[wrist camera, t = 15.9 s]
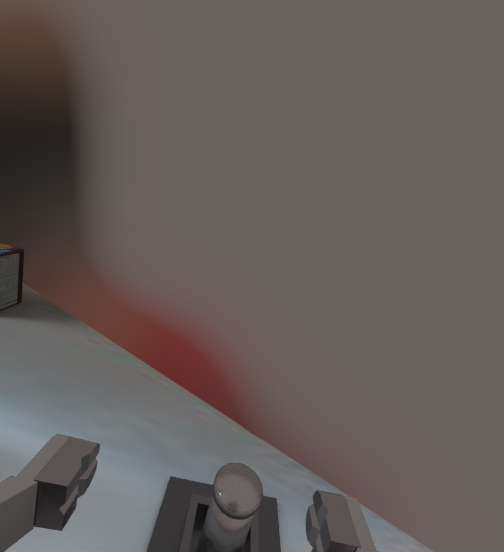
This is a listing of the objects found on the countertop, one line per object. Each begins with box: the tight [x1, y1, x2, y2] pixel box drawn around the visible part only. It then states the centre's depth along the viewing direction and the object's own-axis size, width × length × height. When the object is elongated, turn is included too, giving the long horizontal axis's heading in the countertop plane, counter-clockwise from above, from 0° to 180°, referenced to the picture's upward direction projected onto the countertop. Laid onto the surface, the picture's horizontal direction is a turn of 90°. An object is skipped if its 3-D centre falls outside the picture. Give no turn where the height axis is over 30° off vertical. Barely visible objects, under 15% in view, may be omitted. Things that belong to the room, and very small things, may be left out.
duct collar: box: [147, 477, 281, 552], centre depth 31 cm, size 16×16×3 cm
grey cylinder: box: [196, 463, 263, 552], centre depth 30 cm, size 5×5×11 cm
